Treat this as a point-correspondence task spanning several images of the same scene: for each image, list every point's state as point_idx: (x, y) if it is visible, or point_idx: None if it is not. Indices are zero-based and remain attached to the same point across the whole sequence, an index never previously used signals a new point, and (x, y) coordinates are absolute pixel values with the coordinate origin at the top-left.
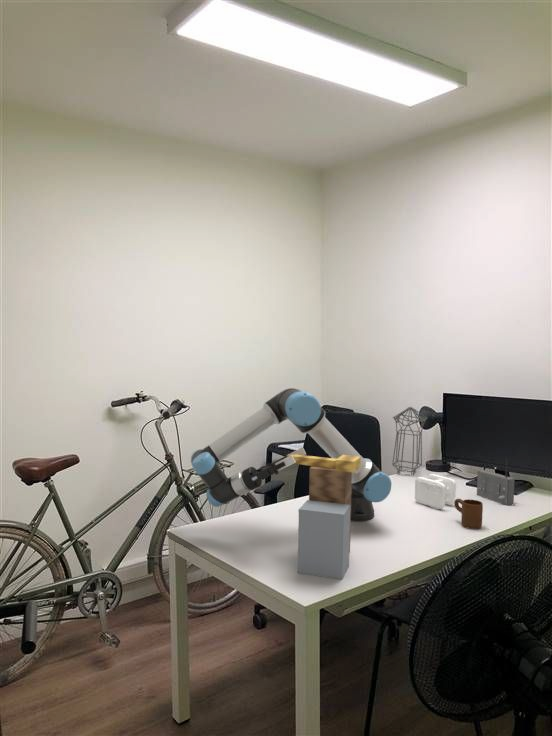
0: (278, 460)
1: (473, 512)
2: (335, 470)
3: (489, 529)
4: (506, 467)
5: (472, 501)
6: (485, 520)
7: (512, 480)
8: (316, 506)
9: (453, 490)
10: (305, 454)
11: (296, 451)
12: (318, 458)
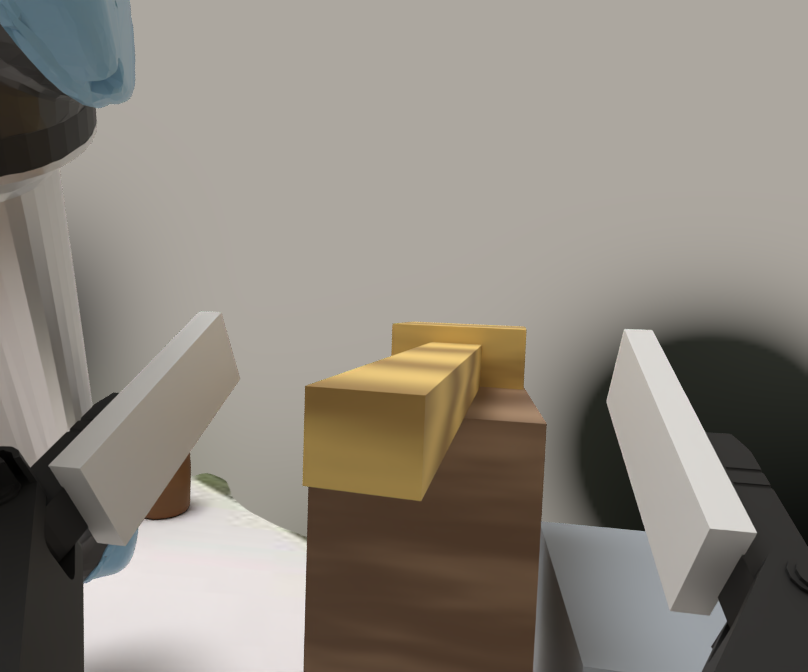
0: (24, 635)
1: (188, 472)
2: (524, 389)
3: (196, 496)
4: None
5: None
6: None
7: None
8: (680, 616)
9: None
10: (238, 379)
11: (181, 368)
12: (455, 353)
